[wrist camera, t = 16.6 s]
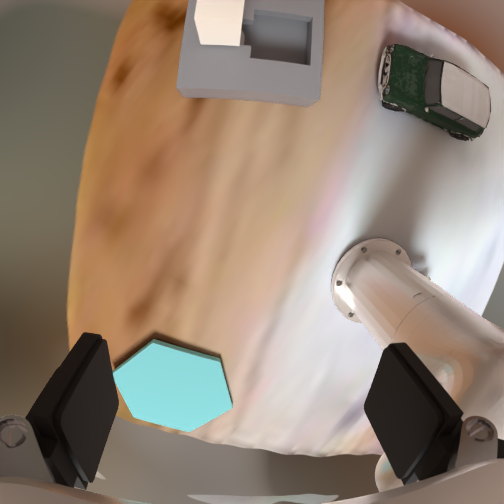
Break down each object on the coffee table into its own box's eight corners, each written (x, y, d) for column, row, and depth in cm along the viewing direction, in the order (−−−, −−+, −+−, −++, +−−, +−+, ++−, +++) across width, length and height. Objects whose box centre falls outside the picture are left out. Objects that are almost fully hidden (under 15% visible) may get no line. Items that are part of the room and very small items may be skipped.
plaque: (251, 362, 47) (123, 323, 42) (252, 370, 45) (120, 330, 40) (215, 430, 51) (108, 400, 46) (215, 438, 49) (105, 408, 44)
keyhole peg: (245, 27, 30) (252, -19, 19) (242, 62, 32) (247, 24, 21) (203, 25, 30) (195, -22, 19) (199, 60, 31) (187, 22, 20)
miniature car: (376, 45, 33) (404, 27, 25) (471, 92, 35) (505, 88, 28) (368, 102, 36) (398, 93, 28) (466, 144, 38) (501, 146, 30)
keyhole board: (312, 12, 31) (324, -6, 26) (307, 107, 35) (320, 99, 30) (196, 1, 30) (192, -19, 25) (183, 97, 34) (176, 88, 29)
